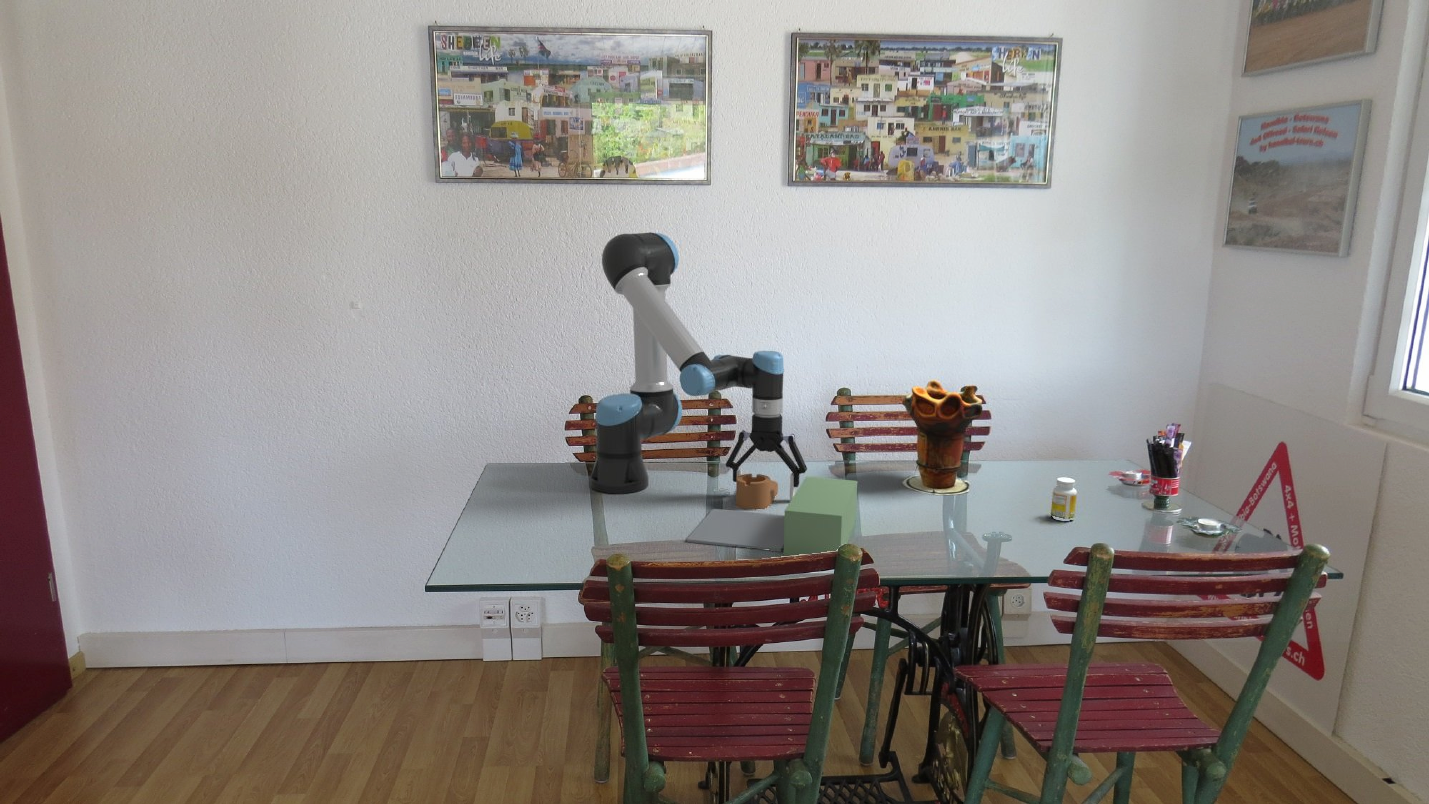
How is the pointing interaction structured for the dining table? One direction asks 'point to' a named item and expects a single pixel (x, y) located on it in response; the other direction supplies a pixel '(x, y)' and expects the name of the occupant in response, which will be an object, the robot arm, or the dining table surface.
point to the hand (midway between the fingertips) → (765, 496)
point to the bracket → (755, 491)
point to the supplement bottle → (1064, 499)
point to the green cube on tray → (789, 521)
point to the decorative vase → (940, 436)
